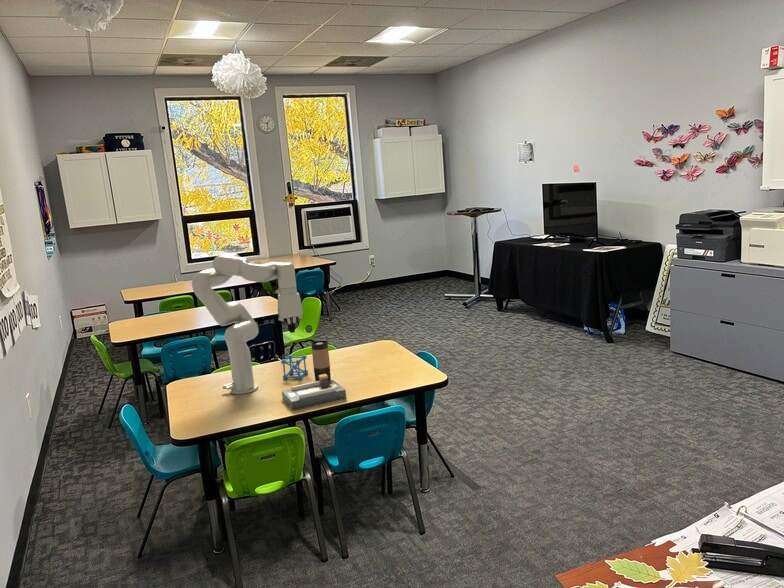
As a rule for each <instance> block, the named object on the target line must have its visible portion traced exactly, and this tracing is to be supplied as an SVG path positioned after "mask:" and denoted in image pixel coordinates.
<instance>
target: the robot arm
mask: <svg viewBox="0 0 784 588" xmlns="http://www.w3.org/2000/svg"><path fill="white" fill-rule="evenodd" d="M234 276H235V277H241V278H243V279H244V280H246V281H249V282H254V283H255V282H256V283H267V282H270V281H273V280H277V283H278V284H277V285H278V288H277V289H276V290H275V294H278V295H277V315H278V321H280V322H285V323H286V324H287V330H288V332H289V333H291V334H292V333H295V332H296V330H297V329H296V323H297V321H299V320H300V319H302V318H303V317H304V316H303V313H304V311H303V305H302V304H303V303H302V300H301V296H300V293H299V292H298V289H297V281H296V280H297V278H296V271H295V265H294V263H293V262H279V261H278V262H277V261H270V262H267V263H264V264H252V263H250V261H249V259H248V258H246V257H242V256H240V255H239V254H237V253H235V252H230V253H229V252H228V253H225V254H221V255H220V254H219V255H217V256H215V258H214V259H213V261H212V268H209V269H207V268H206V269H204V270H201V271H198V272H197V273H196V274H194V276H193V277H192V281H191V287H192V291H193V293H194V295H195V296H196V298H197V299H198V300H199V301H200V302H201V303H202V304H203V306H205V308H206V309H207V311H208V312H209V314H210V315H211V316H212V318H213V320H214V321H215V322H216V323H217V324H218V325H219V326H221V327H225V326H228V327H227V328H226V330H225V332H224V339H225V343H226V346H227V350H228V357H229V362H230V371H231V381H230V383H228V384H222V390H227V391H228V390H229V391H230V393H231V394H234V395H244V394H250V393H253V392H255V391H257V390H258V389H259V386H258V385H259V384H256V383H255V379H254V373H253V371H254V370H253V364H252V355H251V351H250V347H249V346H248V344H247V342H248V341H251V340H254V339H255V338H256V337H257V336H258V335H259V331H260V330H259V326H258V324H257V322H256V321H255V319H254V318H253V317H252V315H251V314H250V312H249V311H248V310H247V308H246V307H245V306H244V305H243V304H242V303H240V302H238V301H231V302H226V300H225V299H224V298H223V297H222V296H221V295H220V293H219V292H218V291H216V290H214V289H213V288H214V287H218V286H221V285H223V284H226V283H227V282H229V280H230V279H231V278H232V277H234ZM290 318H291V319H290ZM298 319H299V320H298ZM229 325H230V326H229Z"/></svg>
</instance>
